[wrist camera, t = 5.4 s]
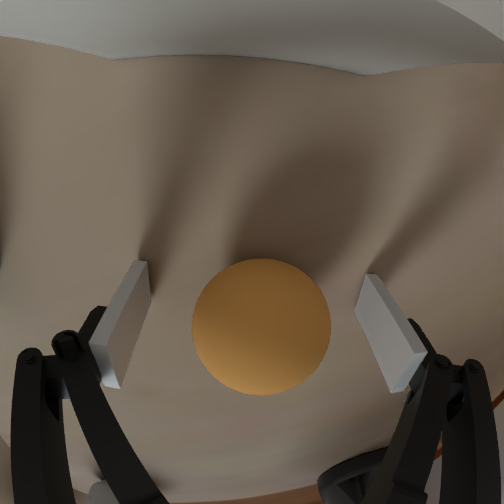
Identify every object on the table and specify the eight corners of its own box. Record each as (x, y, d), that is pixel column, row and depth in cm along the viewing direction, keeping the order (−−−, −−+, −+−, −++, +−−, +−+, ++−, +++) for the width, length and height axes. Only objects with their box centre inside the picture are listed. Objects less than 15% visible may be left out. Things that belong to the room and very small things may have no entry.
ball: (325, 240, 16) (368, 318, 10) (303, 333, 19) (324, 418, 13) (200, 231, 15) (177, 311, 9) (200, 329, 18) (188, 417, 12)
